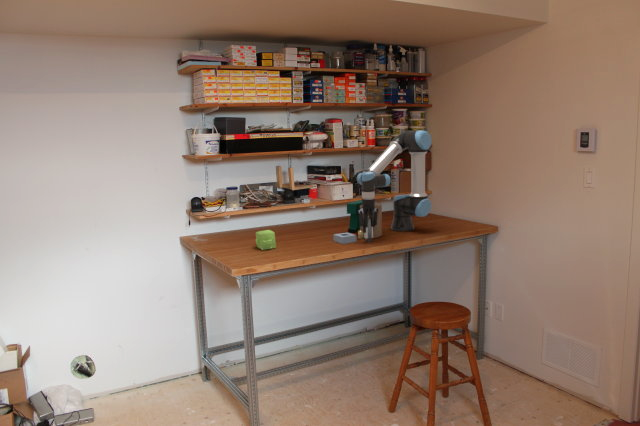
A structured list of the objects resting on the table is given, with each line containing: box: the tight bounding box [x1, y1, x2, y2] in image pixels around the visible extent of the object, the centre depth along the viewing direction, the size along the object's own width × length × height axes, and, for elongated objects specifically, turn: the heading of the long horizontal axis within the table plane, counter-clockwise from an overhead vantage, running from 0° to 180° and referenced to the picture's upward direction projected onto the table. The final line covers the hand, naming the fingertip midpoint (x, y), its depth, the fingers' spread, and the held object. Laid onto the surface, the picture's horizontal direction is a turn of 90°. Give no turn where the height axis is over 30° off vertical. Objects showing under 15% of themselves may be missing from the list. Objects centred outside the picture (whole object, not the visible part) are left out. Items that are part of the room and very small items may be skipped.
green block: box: [255, 229, 277, 251], centre depth 300 cm, size 18×10×10 cm, turn 23°
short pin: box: [357, 230, 364, 240], centre depth 318 cm, size 3×3×5 cm
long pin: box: [365, 218, 372, 243], centre depth 308 cm, size 3×3×14 cm
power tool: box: [346, 199, 362, 236], centre depth 341 cm, size 32×7×20 cm, turn 146°
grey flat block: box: [332, 232, 357, 245], centre depth 312 cm, size 10×10×4 cm
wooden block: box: [360, 203, 383, 239], centre depth 323 cm, size 10×10×20 cm
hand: (368, 237), depth 309 cm, fingers closed on long pin, 3 cm apart
